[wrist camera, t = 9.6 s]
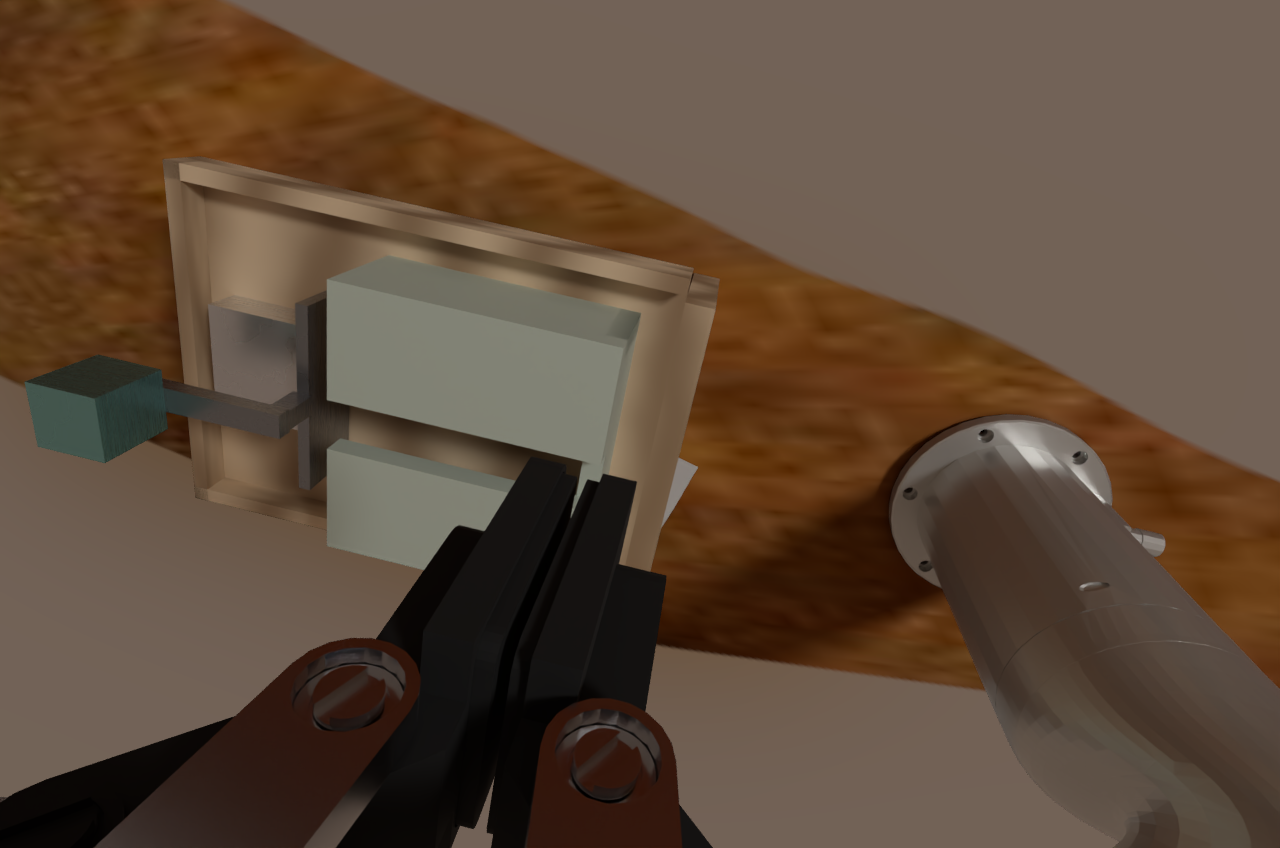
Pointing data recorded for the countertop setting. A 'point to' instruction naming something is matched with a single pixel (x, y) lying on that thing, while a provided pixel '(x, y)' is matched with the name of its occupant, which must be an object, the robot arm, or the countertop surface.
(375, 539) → the pale green panels
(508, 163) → the countertop surface
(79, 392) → the bar
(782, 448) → the countertop surface
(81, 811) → the robot arm
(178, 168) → the shallow beige tray
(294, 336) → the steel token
